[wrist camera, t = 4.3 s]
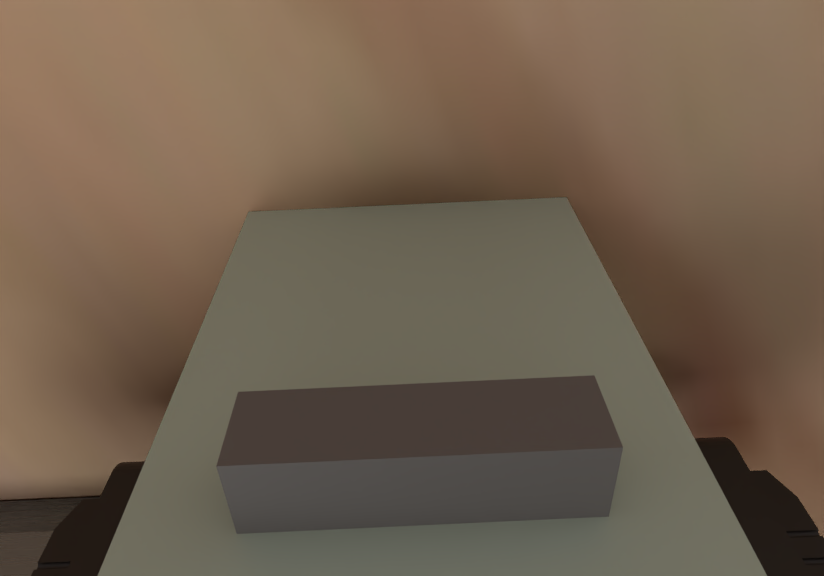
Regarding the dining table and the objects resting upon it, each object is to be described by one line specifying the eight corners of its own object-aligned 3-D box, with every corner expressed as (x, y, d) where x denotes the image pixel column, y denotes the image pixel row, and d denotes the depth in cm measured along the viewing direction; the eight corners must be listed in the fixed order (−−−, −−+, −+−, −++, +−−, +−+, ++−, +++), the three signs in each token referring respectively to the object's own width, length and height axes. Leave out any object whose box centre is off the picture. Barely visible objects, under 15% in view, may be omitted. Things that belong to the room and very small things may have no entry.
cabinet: (570, 147, 10) (976, 781, 3) (532, 517, 14) (652, 1074, 8) (239, 162, 10) (-105, 834, 3) (311, 528, 14) (243, 1094, 8)
